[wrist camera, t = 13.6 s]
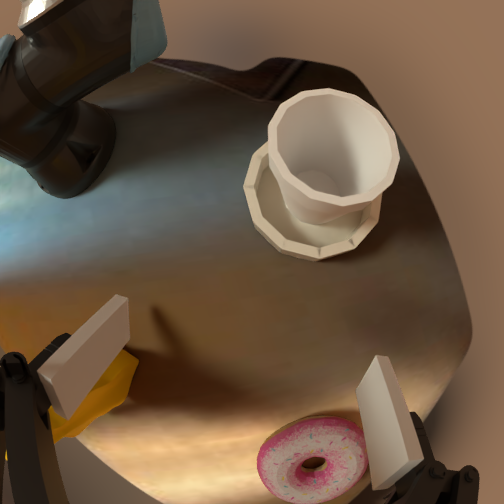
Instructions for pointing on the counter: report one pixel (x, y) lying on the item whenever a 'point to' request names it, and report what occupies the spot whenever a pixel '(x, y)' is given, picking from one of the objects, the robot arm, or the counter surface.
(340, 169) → the foam cup
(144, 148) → the counter surface
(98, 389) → the figure statuette
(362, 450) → the donut
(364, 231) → the dish
